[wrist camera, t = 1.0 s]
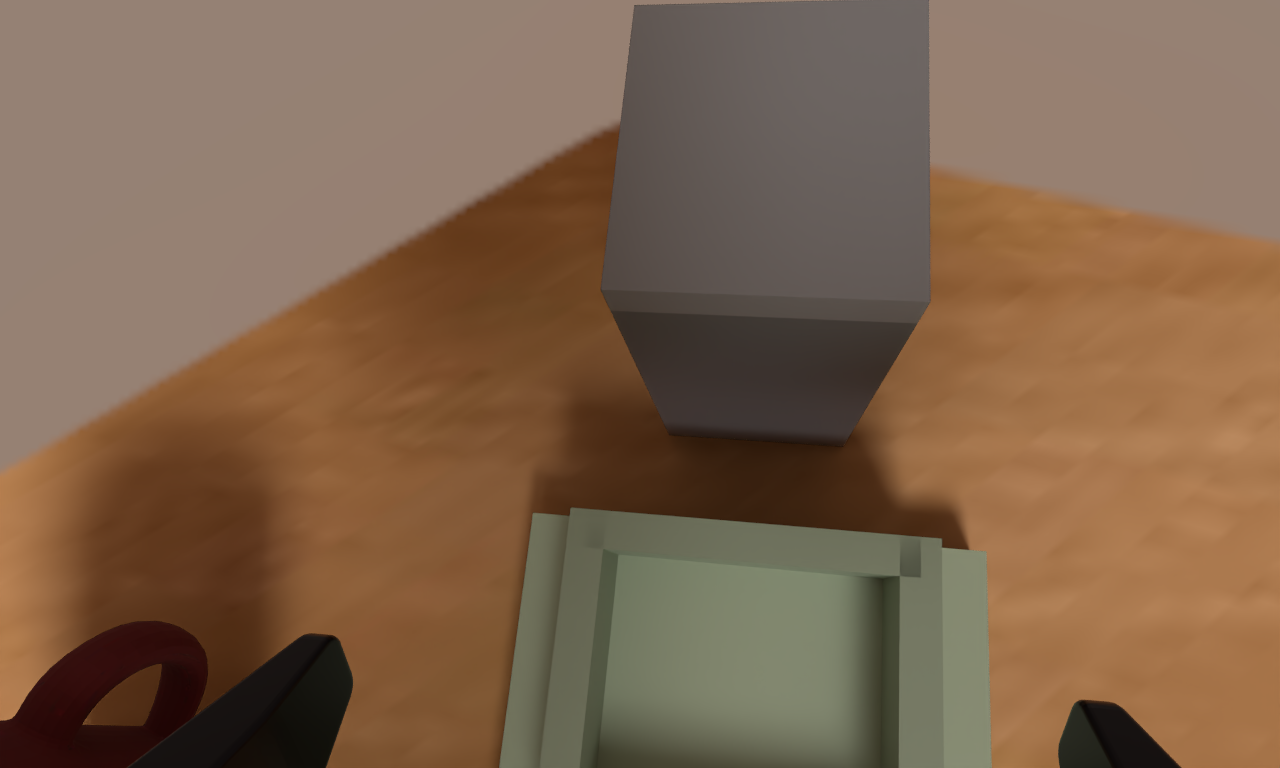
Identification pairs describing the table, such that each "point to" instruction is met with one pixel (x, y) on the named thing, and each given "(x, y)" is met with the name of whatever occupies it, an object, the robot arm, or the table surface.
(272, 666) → the robot arm
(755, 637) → the socket base
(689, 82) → the gray block
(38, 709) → the mug
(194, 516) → the table surface
